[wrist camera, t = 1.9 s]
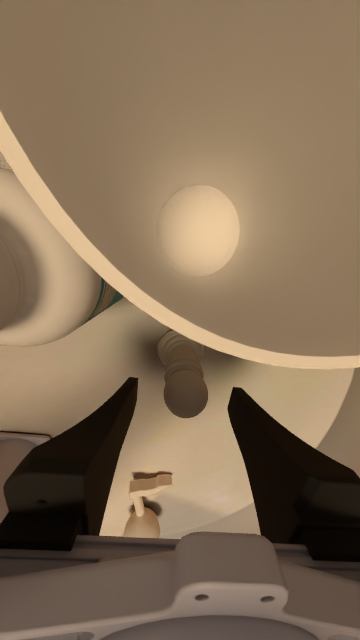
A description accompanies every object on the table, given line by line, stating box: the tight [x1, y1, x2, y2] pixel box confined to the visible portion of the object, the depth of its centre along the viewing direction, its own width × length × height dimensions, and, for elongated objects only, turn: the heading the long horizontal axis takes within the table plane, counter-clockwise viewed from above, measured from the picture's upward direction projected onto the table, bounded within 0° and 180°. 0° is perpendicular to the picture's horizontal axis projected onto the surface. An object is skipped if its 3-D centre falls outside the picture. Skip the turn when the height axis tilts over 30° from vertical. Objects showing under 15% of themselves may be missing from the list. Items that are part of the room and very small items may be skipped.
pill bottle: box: [0, 168, 124, 347], centre depth 11 cm, size 8×7×14 cm
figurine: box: [123, 474, 172, 538], centre depth 26 cm, size 8×6×12 cm
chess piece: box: [158, 330, 208, 418], centre depth 16 cm, size 5×5×9 cm
